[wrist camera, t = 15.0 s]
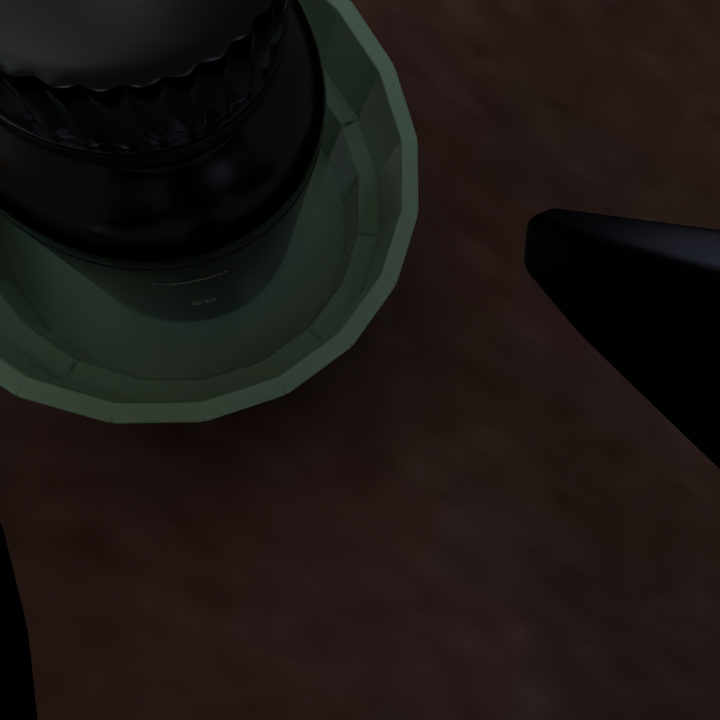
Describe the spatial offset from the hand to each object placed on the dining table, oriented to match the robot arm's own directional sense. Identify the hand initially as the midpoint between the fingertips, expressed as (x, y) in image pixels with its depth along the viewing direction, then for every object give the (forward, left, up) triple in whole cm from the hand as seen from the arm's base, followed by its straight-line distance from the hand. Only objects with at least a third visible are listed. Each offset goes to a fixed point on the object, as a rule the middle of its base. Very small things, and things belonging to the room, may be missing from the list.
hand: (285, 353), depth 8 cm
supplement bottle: (+5, +2, -10) cm, 12 cm away
